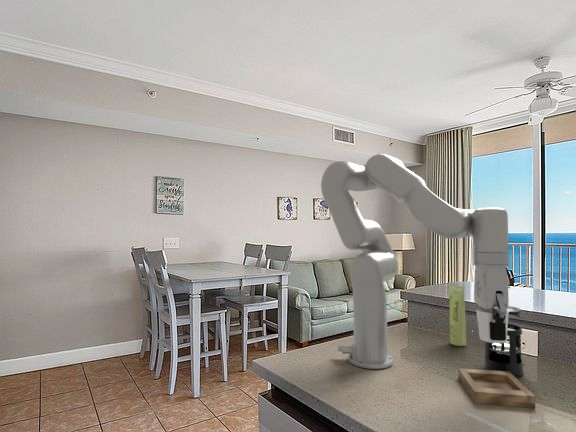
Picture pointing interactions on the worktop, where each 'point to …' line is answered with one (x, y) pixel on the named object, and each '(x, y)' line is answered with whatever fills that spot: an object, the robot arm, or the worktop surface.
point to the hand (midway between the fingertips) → (492, 335)
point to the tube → (457, 316)
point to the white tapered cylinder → (487, 325)
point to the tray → (496, 388)
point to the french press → (506, 350)
